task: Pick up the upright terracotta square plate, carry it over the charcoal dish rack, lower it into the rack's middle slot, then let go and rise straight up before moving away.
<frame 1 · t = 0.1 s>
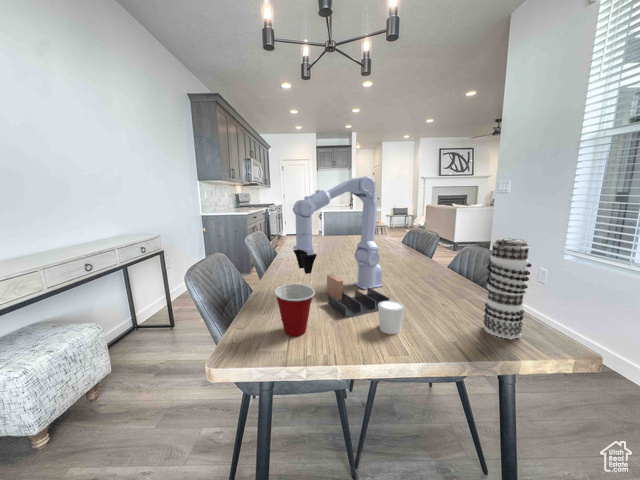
hand: (305, 270, 94), 10 cm above the table, tool pointing down, fingers open, 7 cm apart
decorative candle: (501, 331, 69), on the table
plastic cup: (296, 332, 70), on the table
plate: (334, 295, 97), on the table
rack: (358, 305, 87), on the table
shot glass: (390, 329, 71), on the table
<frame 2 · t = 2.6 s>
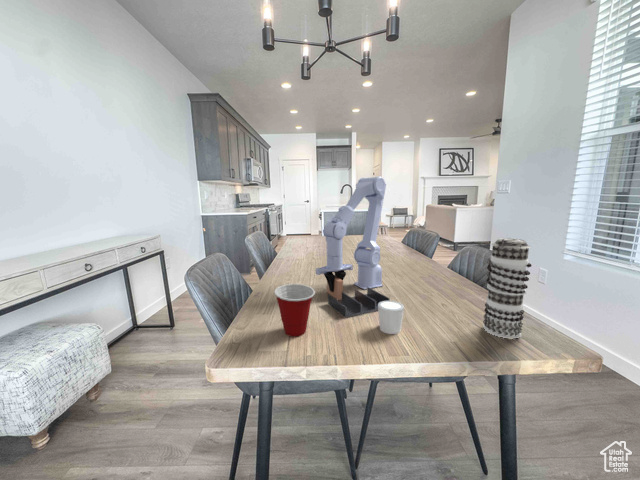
hand: (334, 290, 96), 2 cm above the table, tool pointing down, fingers closed on plate, 2 cm apart
plate: (334, 295, 96), on the table, touching gripper
everything else where it was.
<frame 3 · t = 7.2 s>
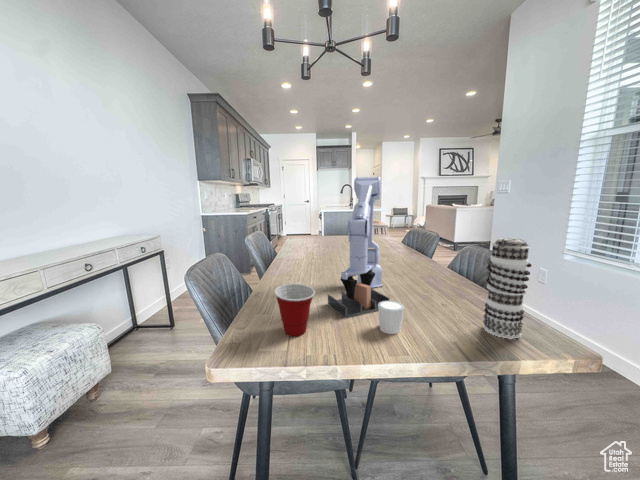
hand: (358, 295, 86), 4 cm above the table, tool pointing down, fingers open, 7 cm apart
plate: (357, 303, 87), point 1 cm above the table, touching rack
everything else where it was.
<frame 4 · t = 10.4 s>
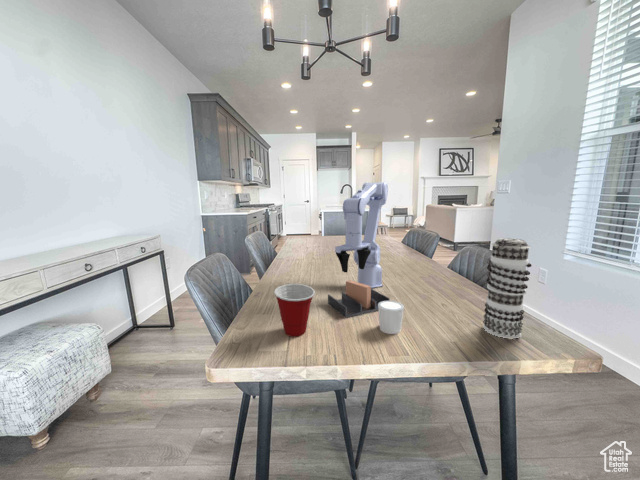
hand: (353, 270, 92), 10 cm above the table, tool pointing down, fingers open, 7 cm apart
nothing on the table moved.
at the end: plate 0.0 cm off-centre on the rack, point 0.8 cm above the rack's base; plate tilted 0°; the gripper is holding nothing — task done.
